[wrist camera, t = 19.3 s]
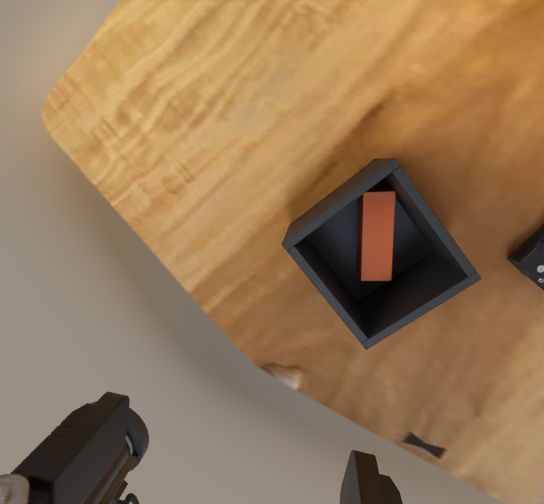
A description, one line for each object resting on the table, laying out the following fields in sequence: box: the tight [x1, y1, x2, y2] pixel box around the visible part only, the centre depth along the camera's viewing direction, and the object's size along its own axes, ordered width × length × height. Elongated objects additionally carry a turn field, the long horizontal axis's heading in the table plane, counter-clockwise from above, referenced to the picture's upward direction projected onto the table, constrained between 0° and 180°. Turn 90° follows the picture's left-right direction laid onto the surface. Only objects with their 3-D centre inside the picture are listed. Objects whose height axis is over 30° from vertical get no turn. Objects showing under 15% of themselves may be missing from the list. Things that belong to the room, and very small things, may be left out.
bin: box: [282, 158, 481, 349], centre depth 35 cm, size 13×12×10 cm
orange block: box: [357, 188, 395, 281], centre depth 36 cm, size 4×3×9 cm
